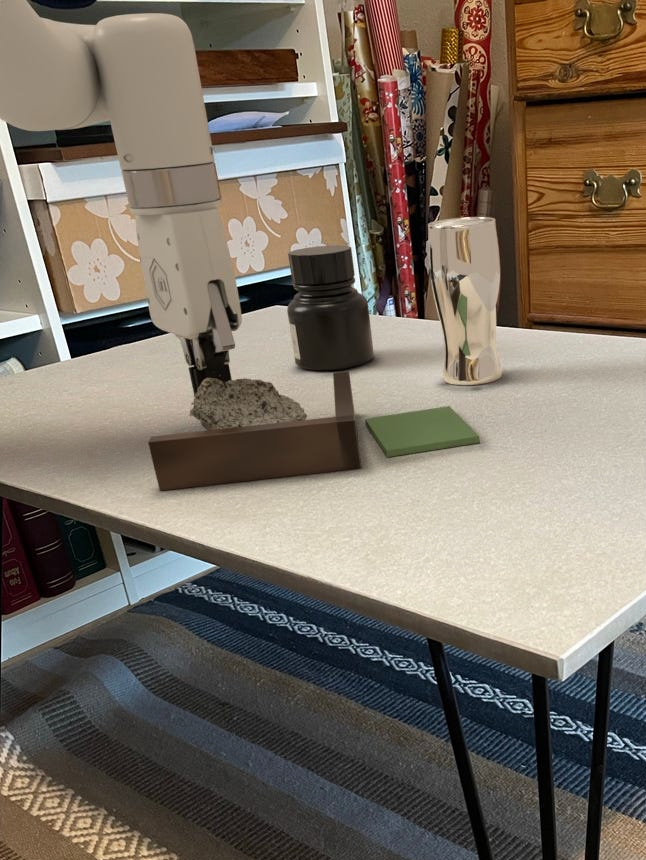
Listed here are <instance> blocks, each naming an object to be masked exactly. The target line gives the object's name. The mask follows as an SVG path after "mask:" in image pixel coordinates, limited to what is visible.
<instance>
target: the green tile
mask: <svg viewBox="0 0 646 860" xmlns="http://www.w3.org/2000/svg"><path fill="white" fill-rule="evenodd" d="M364 424H365V426H366V428H367V429H368V430H369V432H370V433H371V435H372V437H373V438H374V440H375V441H376V442H377V444H378V445H379V447H380V448H381V450H382V452H383V453H384V454H385V456H386V457H387V458H391V457H398V456H404V455H409V454H416V453H417V454H418V453H423V452H429V451H436V450H442V449H449V448H454V447H461V446H467V445H473V444H480V443H481V440H480V439H481V438H480V435H479V434H478V433H477V432H476V431H475V430H474V429H473V428H472V427H471V426H470V424H468V423H467V422H466V421H465V420H464V419H463V418H462V417H461V416H460V415H459V414H458V413H457V412H456V411H455V410H454V409H453V408H452V407H451V406H450V405H448V406H447V405H446V406H440V407H434V408H426V409H420V410H414V411H408V412H407V411H406V412H400V413H395V414H394V413H393V414H387V415H380V416H379V415H378V416H373V417H366V418H364Z"/></svg>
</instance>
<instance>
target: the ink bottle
mask: <svg viewBox="0 0 646 860" xmlns="http://www.w3.org/2000/svg"><path fill="white" fill-rule="evenodd" d="M287 256H288V262H289V268H290V269H289V270H290V275H291V282H292V283H293V284H292V287H293V289H294V290H296V291H298V292H297V293H296V294H295V295H293V299H292V300H291V301H290V302H289V303H288V305H287V309H286V311H287V320H288V325H289V332H290V338H291V344H292V350H293V355H294V356H293V358H294V362H295V365H296V366H297V367H299V368H301V369H303V370H311V371H335V370H336V371H337V370H343V369H349V368H353V367H357V366H360V365H362V364H365V363H368V362H369V361H371V360H372V359H373V358H374V355H375V353H374V352H375V351H374V344H373V335H372V326H371V319H370V311H369V303H368V300H367V298H366V297H365V296H364V295H363V294H362V293H360V292H359V291H358V289H356V288H355V287H352V285H354V284H355V282H356V278H355V273H356V272H355V267H354V260H353V259H354V258H353V251H352V246H348V245H340V244H339V245H320V246H318V245H317V246H312V247H311V246H310V247H305V248H304V247H303V248H299V249H294V250H291V251H289V252H288V253H287Z"/></svg>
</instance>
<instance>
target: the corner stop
mask: <svg viewBox="0 0 646 860" xmlns="http://www.w3.org/2000/svg"><path fill="white" fill-rule="evenodd" d="M350 373H351V372H350V371H349V370H348V371H340V372H339V371H338V372H333V373H332V376H333V377H332V378H333V391H334V392H333V394H334V397H333V398H334V414H335V416H330V417H329V416H328V417H319V418H313V419H312V418H311V419H305V420H300V421H291V422H282V423H273V424H263V425H254V426H245V427H235V428H226V429H217V430H200V431H198V430H197V431H190V432H180V433H171V434H165V435H164V434H162V435H153V436H150V438H149V439H148V441H147V444H148V448H149V452H150V457H151V461H152V465H153V469H154V474H155V477H156V481H157V485H158V489H159V492H160V491H169V490H180V489H187V488H196V487H197V488H198V487H205V486H215V485H222V484H223V485H224V484H232V483H241V482H249V481H250V482H251V481H258V480H267V479H268V480H269V479H276V478H284V477H295V476H303V475H312V474H321V473H329V472H337V471H346V470H347V471H348V470H356V469H362V462H361V454H360V446H359V438H358V428H357V420H356V413H355V403H354V399H353V398H354V397H353V396H354V395H353V390H352V389H353V388H352V382H351V375H350Z"/></svg>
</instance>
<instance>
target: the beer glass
mask: <svg viewBox="0 0 646 860" xmlns="http://www.w3.org/2000/svg"><path fill="white" fill-rule="evenodd" d="M496 221H497V220H496V218H495V217H489V216H465V217H454V218H453V217H452V218H445V219H439V220H435V221H431V222H429V223H428V224H427V227H428V228H427V229H428V231H427V233H428V234H427V235H428V237H427V238H428V240H427V241H428V244H427V245H428V246H427V247H428V266H429V267H428V268H429V277H430V283H431V284H430V285H431V290H432V295H433V299H434V304H435V307H436V312H437V316H438V319H439V323H440V328H441V332H442V336H443V337H442V338H443V344H444V362H443V372H442V373H443V374H442V379H443V381H444V382H445V383H447V384H449V385H456V386H476V385H484V384H489V383H492V382H496V381H497V380H500V379H501V377H502V376H503V372H502V366H501V362H500V357H499V353H498V349H497V347H498V346H497V326H498V325H497V323H498V313H499V306H500V305H499V304H500V295H501V280H502V277H501V275H502V274H501V273H502V272H501V257H500V256H501V255H500V246H499V238H498V230H497V223H496Z"/></svg>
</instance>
